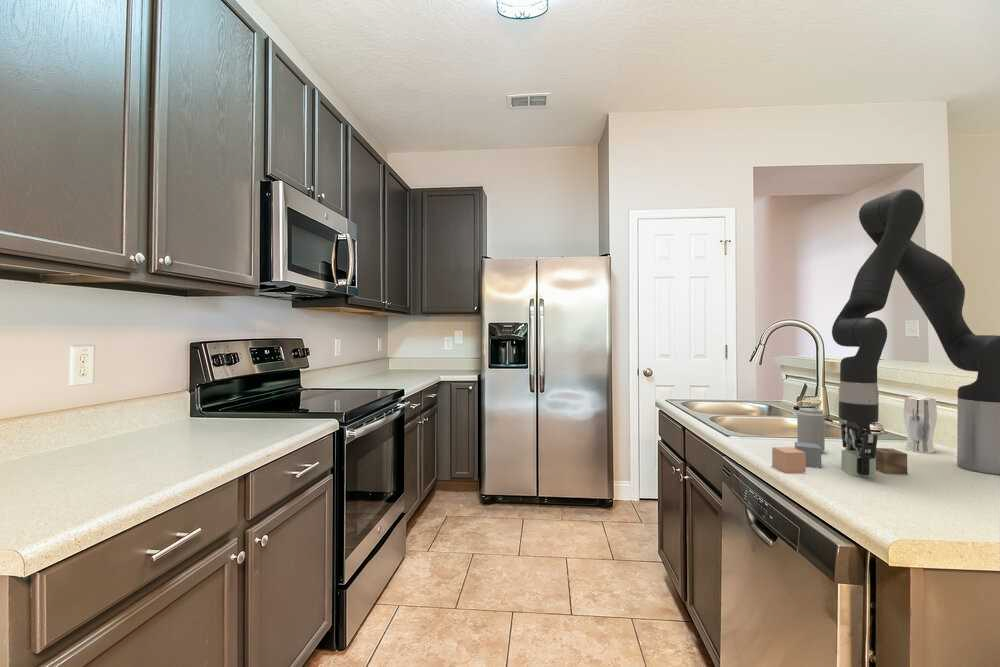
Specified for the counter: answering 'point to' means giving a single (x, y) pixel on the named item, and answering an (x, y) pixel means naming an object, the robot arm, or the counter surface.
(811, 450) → the slate cube
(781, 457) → the terracotta cube
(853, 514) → the counter surface
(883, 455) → the walnut cube
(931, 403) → the beer glass
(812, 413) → the beverage can
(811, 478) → the counter surface
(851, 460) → the sage cube
